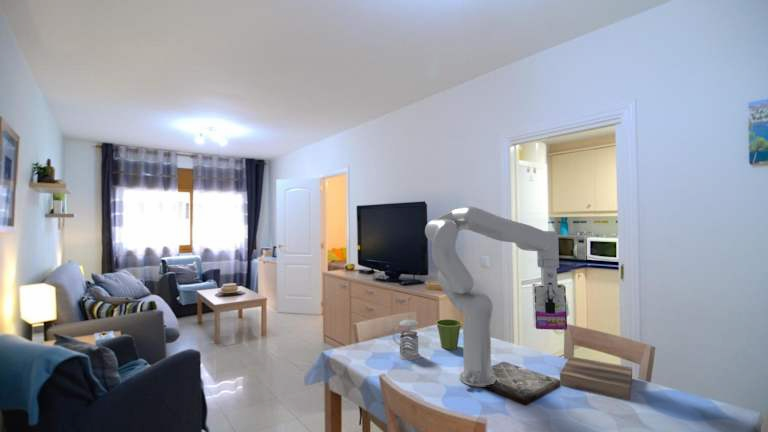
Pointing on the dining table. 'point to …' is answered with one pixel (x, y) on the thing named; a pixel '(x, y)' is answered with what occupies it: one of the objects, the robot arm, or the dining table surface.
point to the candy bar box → (539, 312)
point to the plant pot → (449, 332)
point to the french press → (408, 340)
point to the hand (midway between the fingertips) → (549, 310)
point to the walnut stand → (597, 377)
